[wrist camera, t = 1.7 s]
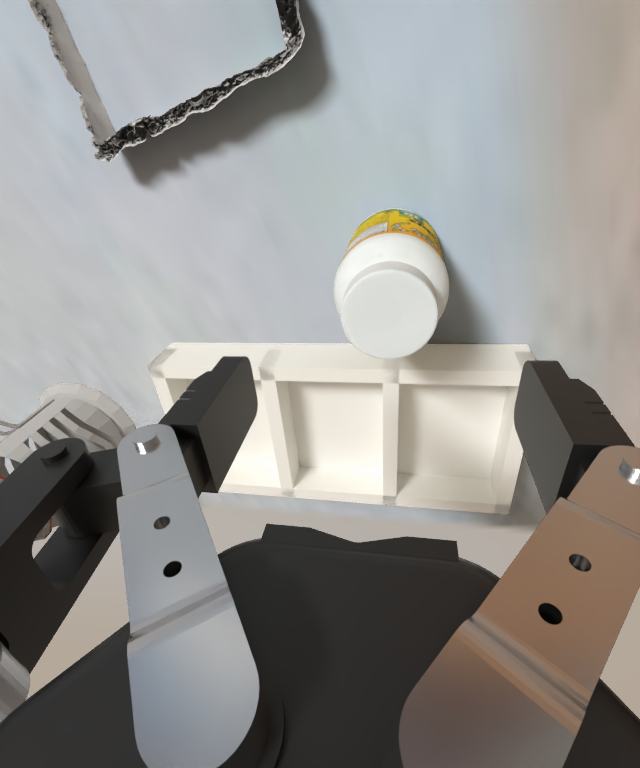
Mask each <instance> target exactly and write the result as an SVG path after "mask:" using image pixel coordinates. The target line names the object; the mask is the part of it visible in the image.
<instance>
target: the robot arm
mask: <svg viewBox="0 0 640 768" xmlns="http://www.w3.org/2000/svg"><path fill="white" fill-rule="evenodd" d="M257 408H258V400H257V394H256V389H255V383H254V378H253V373H252V368H251V363H250V360H249V358H248V357H246V356H223V357H222V358H221V359H220V360H219V362H218V363H217V364H216V366H215V367H214V368H213V369H212V371H207V372H205V373H204V374H202V375H201V376H199V377H197V378H196V379H194V380H193V382H192V383H191V384H190V385H189V387H188V388H187V389H186V392H185V391H184V393H183V394H182V395H181V396H180V399H179V400H177V401H176V402H175V404H174V405H173V406H172V407H171V409H170V410H169V411H168V412H167V414H166V415H165V416H164V417H163V418H162V420H161V421H160V422H159V423H158V424H153V425H147V426H144V427H141V428H138V429H136V430H134V431H132V432H131V433H129V434H128V435H126V436H125V437H124V438H123V439H122V440H121V441H120V443H119V444H118V447H117V448H114V449H108V450H103V451H97V452H91V453H90V452H89V450H88V448H87V446H86V444H85V442H84V441H83V440H81V439H79V438H64V439H59V440H56V441H53V442H50V443H48V444H46V445H44V446H42V447H40V448H39V449H37V450H36V451H34V452H33V453H32V454H31V455H30V456H29V457H27V458H26V459H25V460H24V461H23V462H22V463H21V464H20V465H19V466H18V467H17V468H16V469H15V470H14V471H13V472H12V473H11V474H10V475H9V476H8V477H7V478H6V479H5V480H4V481H2V482H1V483H0V768H640V719H639V718H638V717H637V716H636V715H635V714H634V713H633V712H632V711H631V710H630V709H629V708H628V707H627V706H626V705H625V704H624V703H623V702H622V701H621V700H620V699H619V697H618V696H616V694H615V693H614V692H613V691H612V690H611V689H610V688H609V687H608V686H607V685H606V684H605V683H604V682H603V681H602V680H601V679H600V675H601V673H602V671H603V669H604V666H605V664H606V662H607V660H608V657H609V655H610V653H611V650H612V648H613V646H614V644H615V641H616V639H617V637H618V634H619V632H620V630H621V628H622V625H623V623H624V621H625V619H626V616H627V614H628V612H629V609H630V607H631V605H632V603H633V600H634V598H635V596H636V593H637V591H638V589H639V587H640V448H637V447H635V446H634V444H633V443H632V441H631V440H630V439H629V437H628V436H627V434H626V433H625V432H624V430H623V429H622V427H621V426H620V425H619V423H618V422H617V420H616V419H615V418H614V416H613V415H611V412H610V411H609V409H608V408H607V406H606V405H603V401H602V399H601V398H600V397H599V395H598V394H597V392H596V391H595V390H594V389H593V388H591V387H590V386H588V385H587V384H585V383H584V382H582V381H581V380H579V379H569V377H568V376H567V374H566V373H565V371H564V370H563V368H562V366H561V365H560V363H559V362H558V361H537V360H527V361H526V362H525V363H524V366H523V369H522V374H521V379H520V383H519V388H518V393H517V398H516V402H515V407H514V425H515V429H516V432H517V435H518V437H519V440H520V443H521V446H522V448H523V451H524V454H525V457H526V459H527V462H528V465H529V468H530V470H531V473H532V476H533V478H534V481H535V484H536V487H537V489H538V492H539V495H540V498H541V500H542V503H543V506H544V509H545V511H546V514H547V515H546V516H545V518H544V519H543V521H542V522H541V523H540V525H539V526H538V527H537V529H536V530H535V532H534V533H533V534H532V536H531V537H530V539H529V540H528V541H527V543H526V544H525V545H524V547H523V548H522V549H521V551H520V552H519V554H518V555H517V556H516V558H515V559H514V561H513V562H512V563H511V565H510V566H509V567H508V569H507V570H506V572H505V573H504V574H503V576H502V577H501V578H499V577H497V576H496V575H494V574H493V573H492V572H490V571H488V570H486V569H485V568H483V567H481V566H479V565H477V564H475V563H473V562H470V561H468V560H465V559H463V558H459V557H458V549H457V541H449V540H439V539H427V538H417V537H400V538H393V539H384V540H377V541H369V542H362V543H356V542H351V541H348V540H345V539H342V538H339V537H336V536H333V535H330V534H327V533H324V532H321V531H318V530H315V529H312V528H307V527H295V526H285V525H274V524H266V527H265V530H264V533H263V536H262V538H260V539H255V540H251V541H247V542H244V543H241V544H239V545H236V546H233V547H231V548H229V549H227V550H225V551H223V552H222V553H220V554H218V555H217V552H216V550H215V547H214V544H213V541H212V538H211V535H210V532H209V530H208V527H207V524H206V521H205V518H204V515H203V512H202V509H201V506H200V503H199V501H198V498H199V496H200V494H201V492H209V493H218V491H219V489H220V487H221V485H222V483H223V481H224V479H225V477H226V475H227V473H228V471H229V469H230V467H231V465H232V463H233V461H234V459H235V457H236V455H237V453H238V451H239V449H240V447H241V445H242V443H243V441H244V439H245V437H246V435H247V433H248V431H249V429H250V427H251V425H252V423H253V421H254V419H255V417H256V414H257ZM52 516H54V517H55V519H56V521H57V522H58V524H59V525H60V526H59V527H58V529H57V530H56V531H55V532H54V534H53V535H52V536H51V538H50V539H49V540H48V541H47V543H46V544H45V545H44V546H43V548H42V549H41V550H40V551H39V553H38V554H37V555H36V557H35V558H34V559H33V557H32V545H33V542H34V540H35V538H36V536H37V535H38V533H39V532H40V531H41V530H42V528H43V527H44V526H45V525H46V523H47V522H48V521H49V520H50V519H51V517H52ZM119 531H120V539H121V548H122V557H123V566H124V575H125V584H126V593H127V601H128V611H129V622H128V623H127V624H126V625H124V626H123V627H122V628H120V629H119V630H118V631H116V632H115V633H114V634H112V635H111V636H110V637H109V638H107V639H106V640H105V641H103V642H102V643H101V644H99V645H98V646H97V647H95V648H94V649H93V650H91V651H90V652H89V653H87V654H86V655H85V656H84V657H82V658H81V659H80V660H78V661H77V662H76V663H74V664H73V665H72V666H70V667H69V668H68V669H66V670H65V671H64V672H62V673H61V674H60V675H59V676H57V677H56V678H55V679H53V680H52V681H51V682H49V683H48V684H47V685H45V686H44V687H43V688H41V689H40V690H39V691H38V692H36V693H35V694H34V695H32V696H31V697H30V698H28V699H27V700H26V698H27V695H28V692H29V687H30V676H29V675H30V673H31V671H32V670H33V668H34V667H35V665H36V663H37V662H38V660H39V659H40V657H41V655H42V654H43V652H44V651H45V649H46V647H47V646H48V644H49V643H50V641H51V640H52V638H53V636H54V635H55V633H56V632H57V630H58V628H59V627H60V625H61V623H62V622H63V620H64V619H65V617H66V616H67V614H68V612H69V611H70V609H71V608H72V606H73V604H74V603H75V601H76V600H77V598H78V596H79V595H80V593H81V592H82V590H83V588H84V587H85V585H86V584H87V582H88V580H89V579H90V577H91V576H92V574H93V572H94V571H95V569H96V568H97V566H98V564H99V563H100V561H101V560H102V558H103V556H104V555H105V553H106V552H107V550H108V548H109V547H110V545H111V543H112V542H113V540H114V539H115V537H116V536H117V534H118V532H119ZM25 700H26V701H25Z"/></svg>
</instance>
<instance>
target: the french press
mask: <svg viewBox="0 0 640 768" xmlns="http://www.w3.org/2000/svg"><path fill="white" fill-rule="evenodd" d="M39 402H40V408H39V409H38V410H37V411H35V412H34V413H33V414H31V415H30V416H29V417H27V418H26V419H25V420H23V421H22V422H21V423H20V424H18V425H16V424H10V423H7V422H3V421H0V425H4V426H7V427H10V428H13V429H12V430H11V431H8V432H6V433H5V432H2V431H0V435H1V436H3V435H8V436H7V437H6V438H5V439H3V440H2V441H1V442H0V483H1V482H2V481H4V480H5V479H6V478H7V477H8V476H9V473H8V471H7V469H6V467H5V457H6V458H9V459H10V460H11V462H12V465H13V467H14V469H16V468H17V467H18V466H19V465H20V464H21V463H22V462H23V461H24V460H25V459H26V458H27V457H29V456H30V455H31V454H32V453H33V451H32V450H31V449H30V447H29V445H28V438H29V437H30V438H31V439H32V440H33V441H34V444H35V446H36V449H39V448H40V447H42V446H44V445H46V444H48V443H50V442H53V441H56V440H59V439H64V438H79V439H81V440H83V441H84V442H85V444H86V446H87V448H88V450H89V452H90V453H91V452H97V451H103V450H108V449H114V448H117V447H118V444H119V443H120V441H121V440H122V439H123V438H124V437H125V436H126V435H128V434H129V433H131V432H132V431H134V430H136V428H135V425H134V423H133V422H132V420H131V419H130V418H129V416H128V415H127V414H126V413H125V411H124V410H123V409H122V408H121V406H119V405H118V404H117V403H115V402H114V401H113V400H111V399H110V398H109V397H107V396H106V395H105V394H103V393H102V392H99V391H97V390H94V389H92V388H89V387H87V386H84V385H82V384H74V383H62V382H61V383H58V384H56V385H53V386H51V387H48V388H46V390H45V391H44V393H43V395H42V396H41V398H40V399H39ZM56 526H60V525H59V524H58V522H57V521H56V519H55V517H54V516H52V517H51V519H50V520H49V521H48V522H47V523H46V525H45V526H44V527H43V528H42V530H41V531H40V532H39V533H38V535H37V536H36V538H35V540H34V541H36V540H40V539H45V538H46V537H47V536H48V535H49V534H50V532H51V530H52V527H56Z"/></svg>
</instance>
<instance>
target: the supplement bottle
mask: <svg viewBox="0 0 640 768" xmlns="http://www.w3.org/2000/svg"><path fill="white" fill-rule="evenodd" d="M448 297H449V277H448V272H447V269H446V265H445V261H444V258H443V255H442V251H441V248H440V244H439V240H438V238H437V235H436V233H435V231H434V229H433V228H432V226H431V225H430V224H429V222H428V221H427V220H425V219H424V218H423V217H422V216H420V215H418V214H416V213H414V212H411V211H408V210H405V209H400V208H389V209H384V210H381V211H378V212H376V213H374V214H372V215H371V216H369V217H368V218H366V219H365V220H364V221H363V222H362V223H361V224H360V225H359V227H358V228H357V229H356V231H355V233H354V234H353V236H352V238H351V240H350V242H349V245H348V247H347V250H346V252H345V254H344V256H343V259H342V261H341V263H340V265H339V268H338V271H337V274H336V277H335V282H334V300H335V304H336V308H337V310H338V313H339V315H340V317H341V323H342V327H343V330H344V332H345V334H346V336H347V338H348V339H349V341H350V342H351V343H352V344H353V345H354V346H355V347H356V348H357V349H358V350H360V351H361V352H363V353H365V354H367V355H369V356H372V357H375V358H380V359H398V358H403V357H406V356H408V355H411V354H413V353H415V352H416V351H418V350H419V349H421V348H422V347H423V346H424V345H425V344H426V343H427V342H428V341H429V339H430V338H431V337H432V335H433V333H434V331H435V329H436V326H437V322H438V320H439V319H440V317H441V316H442V314H443V312H444V310H445V308H446V305H447V301H448Z"/></svg>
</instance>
